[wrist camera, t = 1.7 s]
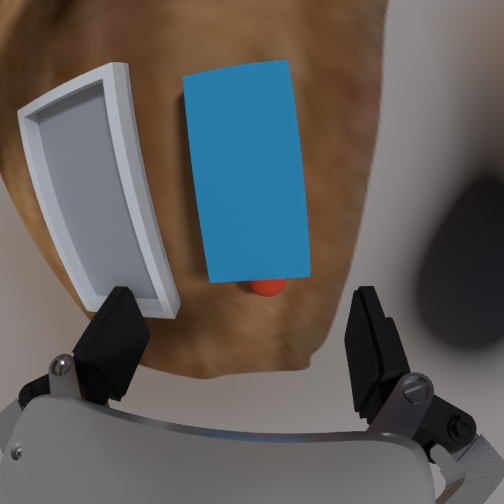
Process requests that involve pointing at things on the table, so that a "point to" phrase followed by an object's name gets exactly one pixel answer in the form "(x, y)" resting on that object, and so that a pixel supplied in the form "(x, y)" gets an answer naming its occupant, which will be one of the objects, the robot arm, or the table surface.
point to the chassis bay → (98, 190)
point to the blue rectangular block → (248, 174)
